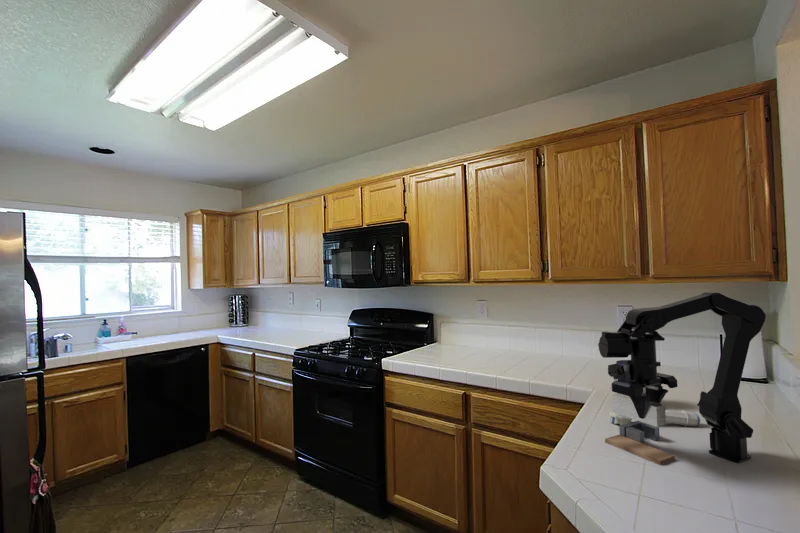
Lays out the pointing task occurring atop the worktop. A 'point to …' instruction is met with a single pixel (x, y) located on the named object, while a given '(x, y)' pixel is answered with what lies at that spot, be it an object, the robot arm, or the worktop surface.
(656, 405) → the steel bar
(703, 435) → the worktop surface
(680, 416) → the toothbrush head
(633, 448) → the board
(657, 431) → the vise
